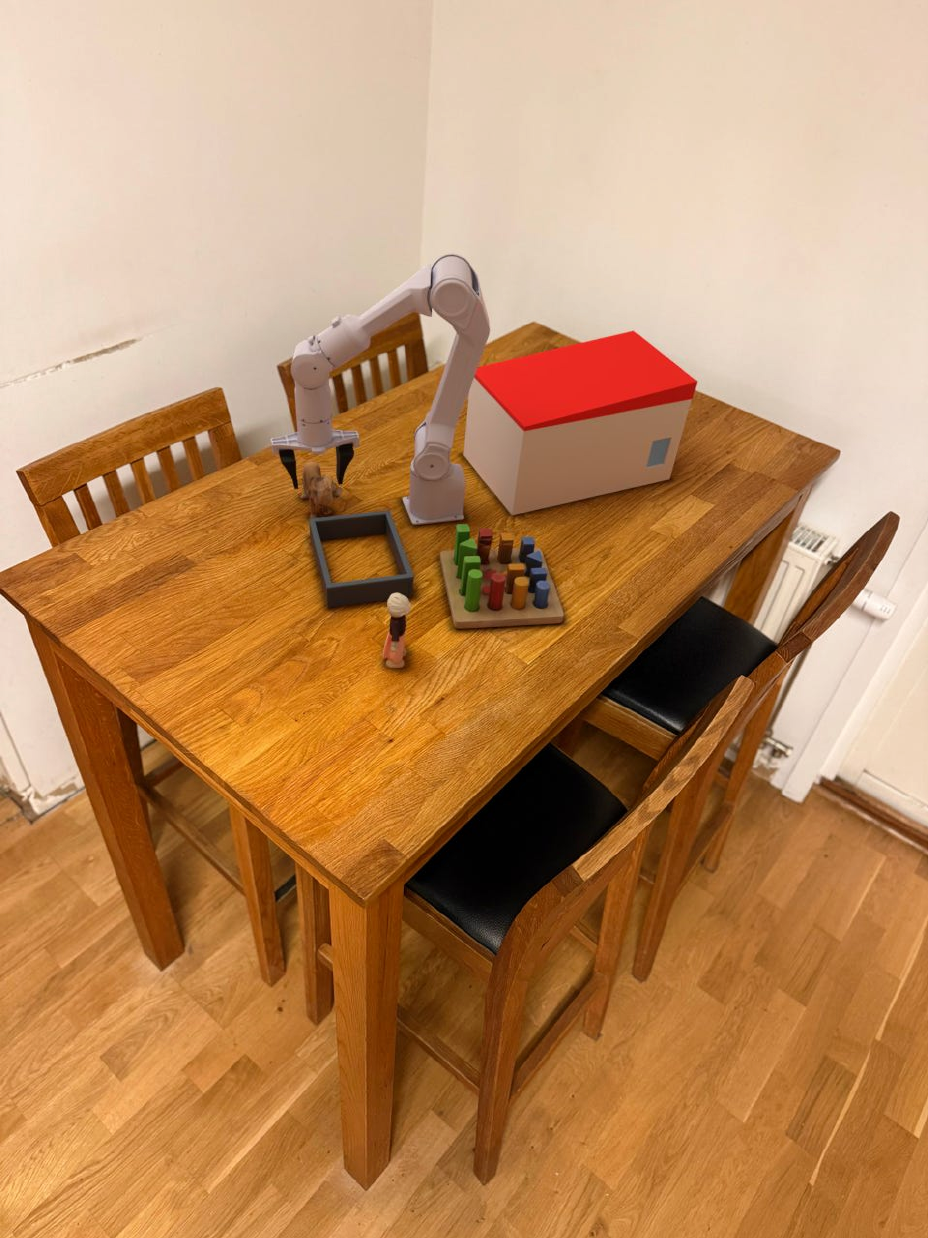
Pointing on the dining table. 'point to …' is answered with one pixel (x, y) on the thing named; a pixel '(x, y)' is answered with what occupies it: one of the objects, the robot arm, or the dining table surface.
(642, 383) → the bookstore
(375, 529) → the crate
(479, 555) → the peg board
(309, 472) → the lion figurine
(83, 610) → the dining table surface
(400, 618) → the grandmother figurine
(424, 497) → the robot arm
